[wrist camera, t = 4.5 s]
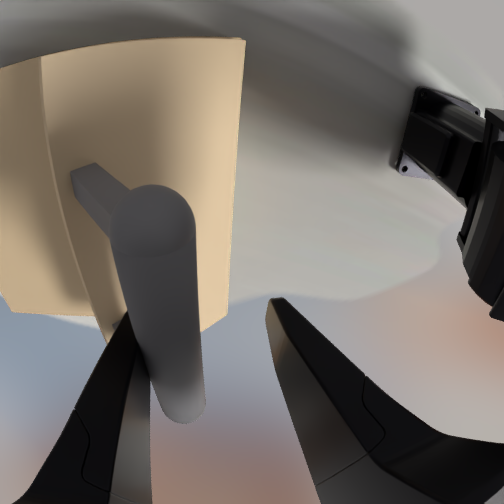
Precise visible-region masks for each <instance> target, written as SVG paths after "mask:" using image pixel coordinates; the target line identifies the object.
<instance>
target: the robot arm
mask: <svg viewBox="0 0 504 504" xmlns="http://www.w3.org/2000/svg"><path fill="white" fill-rule="evenodd" d="M422 92H424V95H423V96H421V93H422ZM474 112H475V114H474ZM484 117H485V118H486V120H485V119H484V118H482V117H480V110H479V109H478V108H477V107H475V106H473V105H470V104H468V103H465V102H463V101H461V100H458V99H456V98H453V97H450V96H448V95H445V94H442V93H440V92H437V91H434V90H431V89H428V88H425V87H422V86H419V87H417V89H416V90H415V94H414V99H413V103H412V107H411V112H410V115H409V119H408V123H407V127H406V131H405V135H404V139H403V143H402V146H401V151H400V155H399V158H398V162H397V165H396V170H397V172H398V173H400V174H401V175H403V176H411V177H418V178H425V179H432V180H435V181H436V182H437V183H438V184H440V185H441V186H442V187H443V188H444V189H445V190H446V191H448V192H449V193H450V194H451V195H452V196H453V197H454V198H455V199H456V200H457V201H458V202H460V203H461V204H462V205H463V206H464V207H465V208H466V209H467V211H466V215H465V218H464V222H463V225H462V228H461V231H460V232H459V233H458V236H457V242H458V245H459V247H460V249H461V252H462V258H463V265H464V267H465V269H466V272H467V274H468V276H469V280H468V284H469V285H470V287H471V288H472V289H473V291H474V292H475V293H476V294H477V295H478V296H479V297H480V298H481V299H482V300H483V301H484V302H485V303H487V304H489V305H490V306H492V309H491V311H490V313H489V315H490V317H491V318H494V319H497V320H500V321H503V322H504V110H498V109H491V108H485V116H484ZM403 166H405V167H404V169H403V170H402V168H403ZM265 320H266V327H267V333H268V337H269V343H270V347H271V353H272V357H273V362H274V367H275V371H276V374H277V377H278V380H279V383H280V387H281V389H282V392H283V395H284V398H285V401H286V404H287V407H288V410H289V413H290V416H291V419H292V422H293V425H294V428H295V431H296V433H297V436H298V439H299V442H300V445H301V448H302V450H303V454H304V456H305V459H306V462H307V465H308V468H309V471H310V474H311V477H312V479H313V482H314V485H315V488H316V491H317V494H318V497H319V499H320V502H321V504H504V443H494V442H486V441H480V440H473V439H467V438H461V437H456V436H450V435H447V434H444V433H441V432H439V431H437V430H435V429H434V428H432V427H430V426H429V425H427V424H426V423H425V422H423V421H422V420H421V419H419V418H418V417H417V416H415V415H414V414H412V413H411V412H409V411H408V410H407V409H405V408H404V407H403V406H401V405H400V404H399V403H398V402H396V401H395V400H394V399H393V398H391V397H390V396H389V395H387V394H386V393H385V392H384V391H383V390H382V389H381V388H379V387H378V386H377V385H376V384H375V383H374V382H373V381H372V380H371V379H370V378H369V377H367V376H365V374H364V373H363V372H362V371H361V370H360V369H359V368H358V367H357V366H355V364H353V363H352V362H351V361H350V360H349V359H348V358H347V357H346V356H345V355H344V354H343V353H342V352H341V351H340V350H339V349H338V348H336V347H335V346H334V345H333V344H332V343H331V342H330V341H329V340H328V339H327V338H326V337H325V336H324V335H323V334H322V333H320V332H319V331H318V330H317V329H316V328H315V327H314V326H313V325H312V324H311V323H310V322H309V321H308V320H307V319H306V318H305V317H304V316H303V315H301V314H300V313H299V312H298V311H297V310H296V309H295V308H294V307H293V306H292V305H291V304H290V303H289V302H288V301H287V300H286V299H284V298H282V297H280V298H271V299H270V300H269V302H268V307H267V312H266V319H265ZM74 408H75V410H73V411H72V413H71V415H70V417H69V419H68V421H67V423H66V425H65V427H64V429H63V431H62V433H61V435H60V437H59V439H58V440H57V442H56V444H55V446H54V447H53V449H52V451H51V452H50V454H49V456H48V457H47V459H46V461H45V462H44V464H43V466H42V467H41V469H40V471H39V472H38V474H37V476H36V478H35V479H34V481H33V483H32V484H31V486H30V487H29V489H28V490H27V491H26V492H25V493H24V495H23V496H21V497H20V499H18V500H17V501H15V502H14V503H12V504H152V490H151V467H150V376H149V373H148V370H147V367H146V364H145V361H144V359H143V356H142V353H141V350H140V347H139V344H138V342H137V339H136V337H135V334H134V330H133V327H132V324H131V321H130V317H129V314H128V311H126V312H125V314H124V316H123V317H122V319H121V321H120V323H119V324H118V326H117V328H116V330H115V331H114V333H113V335H112V337H111V339H110V340H109V342H108V344H107V346H106V348H105V349H104V351H103V353H102V355H101V357H100V359H99V360H98V363H97V364H96V366H95V368H94V370H93V372H92V374H91V376H90V378H89V379H88V381H87V384H86V385H85V387H84V389H83V391H82V393H81V395H80V397H79V399H78V401H77V403H76V405H75V407H74Z"/></svg>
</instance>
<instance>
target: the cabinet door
mask: <svg viewBox="0 0 504 504" xmlns="http://www.w3.org/2000/svg"><path fill="white" fill-rule="evenodd" d="M245 46H246V40H233V39H206V38H183V39H156V40H142V41H130V42H121V43H113V44H105V45H98V46H92V47H86V48H80V49H75V50H69V51H65V52H60V53H55V54H51V55H47V56H43V57H39V58H38V62H39V82H40V95H41V105H42V114H43V123H44V130H45V137H46V143H47V150H48V155H49V161H50V166H51V171H52V176H53V181H54V186H55V190H56V195H57V199H58V203H59V207H60V211H61V215H62V219H63V223H64V226H65V230H66V234H67V237H68V240H69V244H70V247H71V250H72V254H73V257H74V260H75V263H76V266H77V269H78V272H79V275H80V278H81V281H82V284H83V286H84V289H85V292H86V295H87V297H88V300H89V302H90V305H91V308H92V310H93V313H94V315H95V318H96V320H97V323H98V325H99V327H100V330H101V332H102V334H103V336H104V339H105V341H106V343H107V344H108V342H109V340H110V339H111V337H112V335H113V333H114V331H115V330H116V328H117V326H118V324H119V323H120V321H121V319H122V317H123V316H124V314H125V312H126V311H128V314H129V317H130V321H131V324H132V327H133V330H134V334H135V337H136V339H137V342H138V344H139V347H140V350H141V353H142V356H143V359H144V361H145V364H146V367H147V370H148V373H149V376H150V381H151V382H152V385H153V388H154V390H155V393H156V396H157V398H158V401H159V403H160V406H161V408H162V410H163V412H164V413H165V415H166V416H167V417H168V418H169V419H171V420H172V421H174V422H177V423H182V424H187V423H192V422H194V421H196V420H197V419H199V418H200V417H201V415H202V414H203V412H204V410H205V405H206V399H205V388H204V377H203V364H202V352H201V351H202V350H201V336H200V332H202V331H203V330H205V329H206V328H208V327H209V326H211V325H213V324H214V323H216V322H217V321H218V320H220V319H222V318H223V317H225V316H226V315H227V310H228V290H229V270H230V251H231V234H232V217H233V201H234V186H235V171H236V157H237V143H238V129H239V116H240V104H241V91H242V80H243V68H244V57H245Z"/></svg>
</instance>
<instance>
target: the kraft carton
mask: <svg viewBox="0 0 504 504" xmlns="http://www.w3.org/2000/svg"><path fill="white" fill-rule="evenodd" d="M183 38H206V39H233V40H241V38H238V37H212V36H186V37H161V38H146V39H135V40H126V41H117V42H110V43H103V44H96V45H90V46H85V47H79V48H74V49H69V50H75V49H80V48H86V47H92V46H98V45H105V44H113V43H121V42H130V41H142V40H156V39H183ZM69 50H65V51H69ZM65 51H60V52H65ZM60 52H56V53H60ZM52 54H55V53H52ZM47 55H51V54H47ZM47 55H43V56H47ZM43 56H39V57H43ZM39 57H35V58H32V59H28V60H25V61H21V62H18V63H15V64H12V65H9V66H6V67H3V68H0V291H1V293H2V295H3V297H4V299H5V300H6V302H7V304H8V306H9V307H10V309H11V311H12V312H18V313H34V314H51V315H73V316H95V315H94V313H93V310H92V308H91V305H90V302H89V300H88V297H87V295H86V292H85V289H84V286H83V284H82V281H81V278H80V275H79V272H78V269H77V266H76V263H75V260H74V257H73V254H72V250H71V247H70V244H69V240H68V237H67V234H66V230H65V226H64V223H63V219H62V215H61V211H60V207H59V203H58V199H57V195H56V190H55V186H54V181H53V176H52V171H51V166H50V161H49V155H48V150H47V143H46V137H45V130H44V123H43V114H42V105H41V95H40V82H39V62H38V58H39Z"/></svg>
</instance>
